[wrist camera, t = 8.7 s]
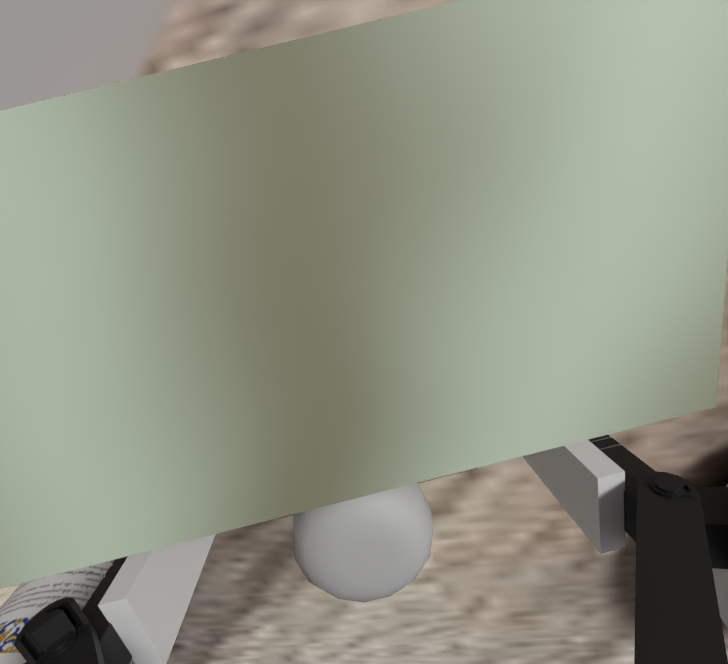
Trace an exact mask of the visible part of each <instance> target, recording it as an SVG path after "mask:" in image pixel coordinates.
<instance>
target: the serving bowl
mask: <svg viewBox="0 0 728 664" xmlns="http://www.w3.org/2000/svg"><path fill="white" fill-rule="evenodd" d="M726 487H728V484H727V485H726ZM712 570H713V576H714V582H715V588H716V594H717V600H718V606H719V612H720V617H721V619H722V621H723V622H724V624H725V625H726V627H727V628H728V569H714V568H712Z"/></svg>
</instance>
